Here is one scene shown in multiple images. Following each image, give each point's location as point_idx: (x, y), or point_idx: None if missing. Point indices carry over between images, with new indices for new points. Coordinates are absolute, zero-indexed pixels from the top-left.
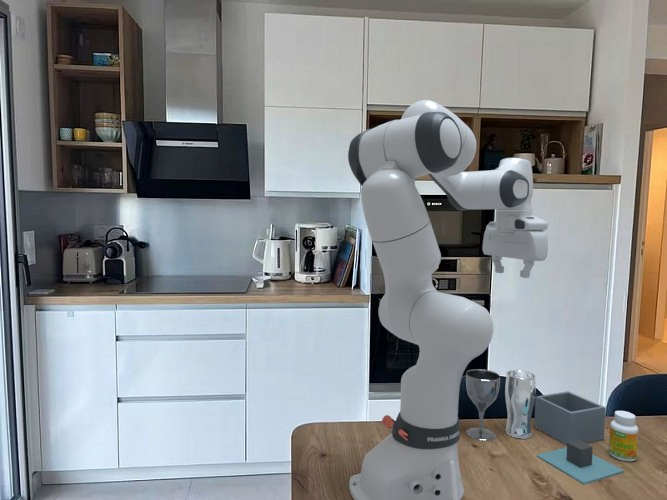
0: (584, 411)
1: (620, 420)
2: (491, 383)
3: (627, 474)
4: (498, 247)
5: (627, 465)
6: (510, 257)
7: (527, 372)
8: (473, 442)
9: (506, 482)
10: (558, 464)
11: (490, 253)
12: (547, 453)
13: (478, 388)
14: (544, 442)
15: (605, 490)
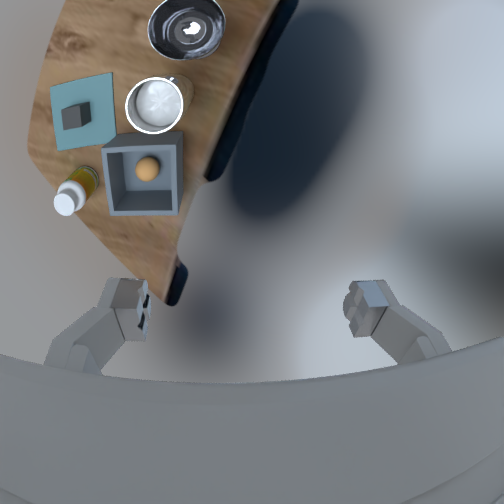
0: (104, 174)
1: (61, 191)
2: (150, 24)
3: (55, 150)
4: (422, 434)
5: (69, 166)
6: (224, 383)
7: (161, 130)
8: None
9: (83, 3)
10: (85, 84)
11: (469, 355)
12: (109, 89)
13: (168, 5)
14: None
15: (38, 102)
